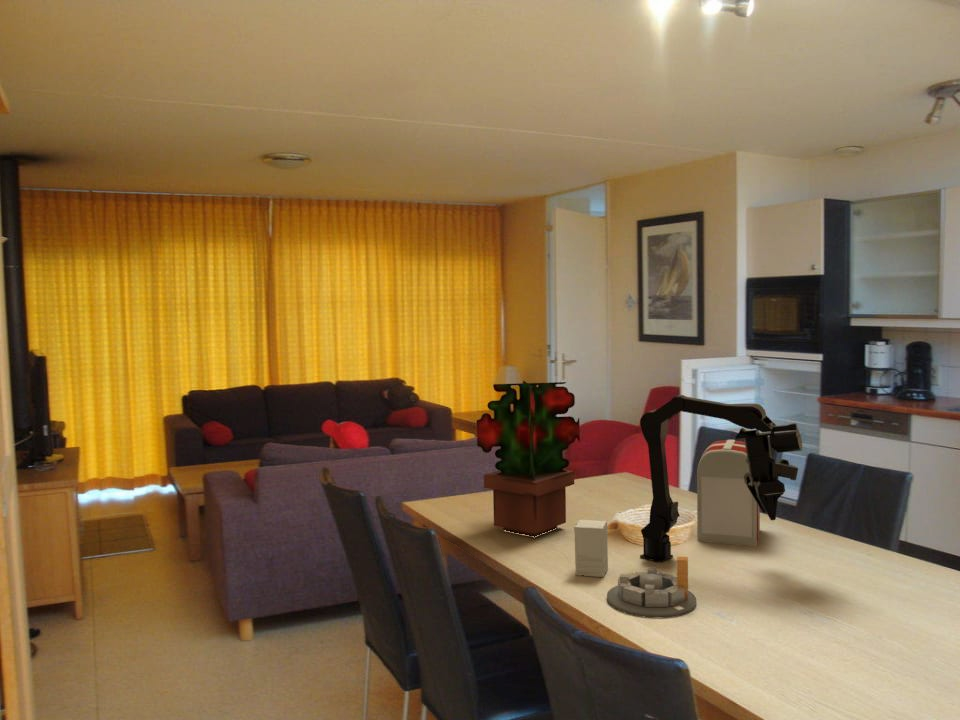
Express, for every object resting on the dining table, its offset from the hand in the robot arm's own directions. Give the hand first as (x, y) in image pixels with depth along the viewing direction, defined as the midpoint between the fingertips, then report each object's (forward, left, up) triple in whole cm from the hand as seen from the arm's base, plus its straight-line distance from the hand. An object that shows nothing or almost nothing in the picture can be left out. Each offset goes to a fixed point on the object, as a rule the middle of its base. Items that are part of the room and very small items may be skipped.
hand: (769, 516), depth 199 cm
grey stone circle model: (-10, -36, -14) cm, 40 cm away
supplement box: (-32, -30, -15) cm, 46 cm away
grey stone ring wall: (-10, -36, -13) cm, 40 cm away
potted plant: (-70, -13, -15) cm, 73 cm away
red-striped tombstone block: (-24, +23, -15) cm, 37 cm away
